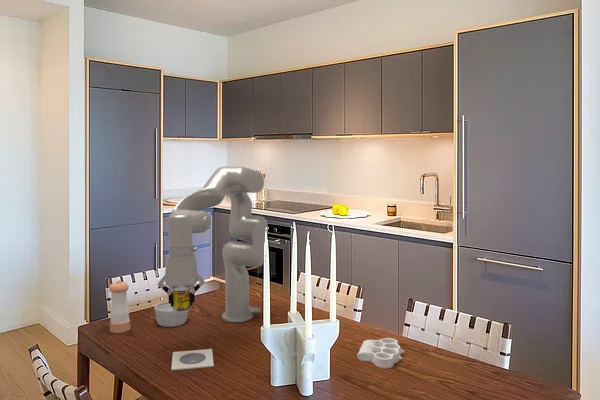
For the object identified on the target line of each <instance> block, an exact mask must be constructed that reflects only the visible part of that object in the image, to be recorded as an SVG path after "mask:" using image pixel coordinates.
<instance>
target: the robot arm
mask: <svg viewBox="0 0 600 400" xmlns="http://www.w3.org/2000/svg"><path fill="white" fill-rule="evenodd" d="M264 186H265V179H264V175H263V174H262V173H261V172H260V171H257V170H254V169H252V168H249V167H246V166H220V167H218V168H216V170H215V171H214V172H213V174H212V175H211V176H210V178H209V179H207V181H206V182H205V184H204V185H203V187H202V188H200V189H198V190H196V191H194V192H192V193H190V194H188V195H186V196H185V197H183V198H182V199H181V200H180V201H178V202H177V204H176V205H175V206H174V208H173V209H172V210H171V212H170V214H169V216H168V220H167V227H168V231H167V232H168V233H167V235H168V254H167V255H166V258H165V259H166V260H165V269H164V271H165V273H164V275H163V276H162V278H160V280H159V281H158V282H157V286H158V287H159V288H160V289H161V290H162V291H164V292H165V293H166V294H167V295H168V301H169V304H171V307H173V287H174V286H189V287H190V307H192V306H193V305H194V303H195V301H196V299H195V298H196V295H195V293H196V292H197V291H198V290H199V289H200V288H201V287H202V286H203V285H205V283H206V281H205V279H204V278H203V277H202V276H201V275H200V274H199V273H198V267H197V266H198V265H197V258H196V254H195V253H194V252H198V247H197V246H194V245H193V235H194V234H202V233H205V232H206V231H208V230H209V229H210V227H211V225H212V218H211V216H210V214H209V213H208V212H206V211H203V210H206V209H210V208H213V207H217V206H219V205H220V204H222V202H223V200H224V199H225V197H227V195H228V196H229V199H230V215H229V224H228V226H229V227H228V232H229V235H230V236H231V237H233V238H237V239H245V240H246V239H247V240H252V242H249V241H239V240H238V241H237V240H232V241H229V242H227V243H225V244H224V245H223V247H222V258H223V263H224V276H225V277H224V278H225V283H224V284H225V288H224V289H225V312H223V313H222V315H221V319H222V320H223V321H225V322H228V323H243V322H249V321H250V320H251V319H253V318H254V314H255V313H261V307H257V306H251V305H250V281H249V280H250V277H249V272H248V269H247V267H255V268H257V267H261V266H262V265H264V262H265V260H264V242H265V228H266V227H267V236H268V233H269V232H268V231H269V227H268V221H267V220H266V218H265V217H264V216H261V215H252V211H253V209H252V208H253V206H252V205H253V202H252V199H251V198H250V196H249V194H248V193H250V194H251V193H253V194H254V193H255V194H256V193H257V194H258V193H259V192H261V191H262V190H263V188H264ZM197 282H198V283H197ZM164 283H165V284H164Z"/></svg>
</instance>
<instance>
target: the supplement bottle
mask: <svg viewBox="0 0 600 400" xmlns="http://www.w3.org/2000/svg"><path fill="white" fill-rule="evenodd" d="M172 291H173V310H174V311H175V312H177V313H184V312H187V311H188V312H189V311H190V310H191V305H190V292H191V290H190V287H189V286H174V287H173V290H172Z"/></svg>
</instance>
